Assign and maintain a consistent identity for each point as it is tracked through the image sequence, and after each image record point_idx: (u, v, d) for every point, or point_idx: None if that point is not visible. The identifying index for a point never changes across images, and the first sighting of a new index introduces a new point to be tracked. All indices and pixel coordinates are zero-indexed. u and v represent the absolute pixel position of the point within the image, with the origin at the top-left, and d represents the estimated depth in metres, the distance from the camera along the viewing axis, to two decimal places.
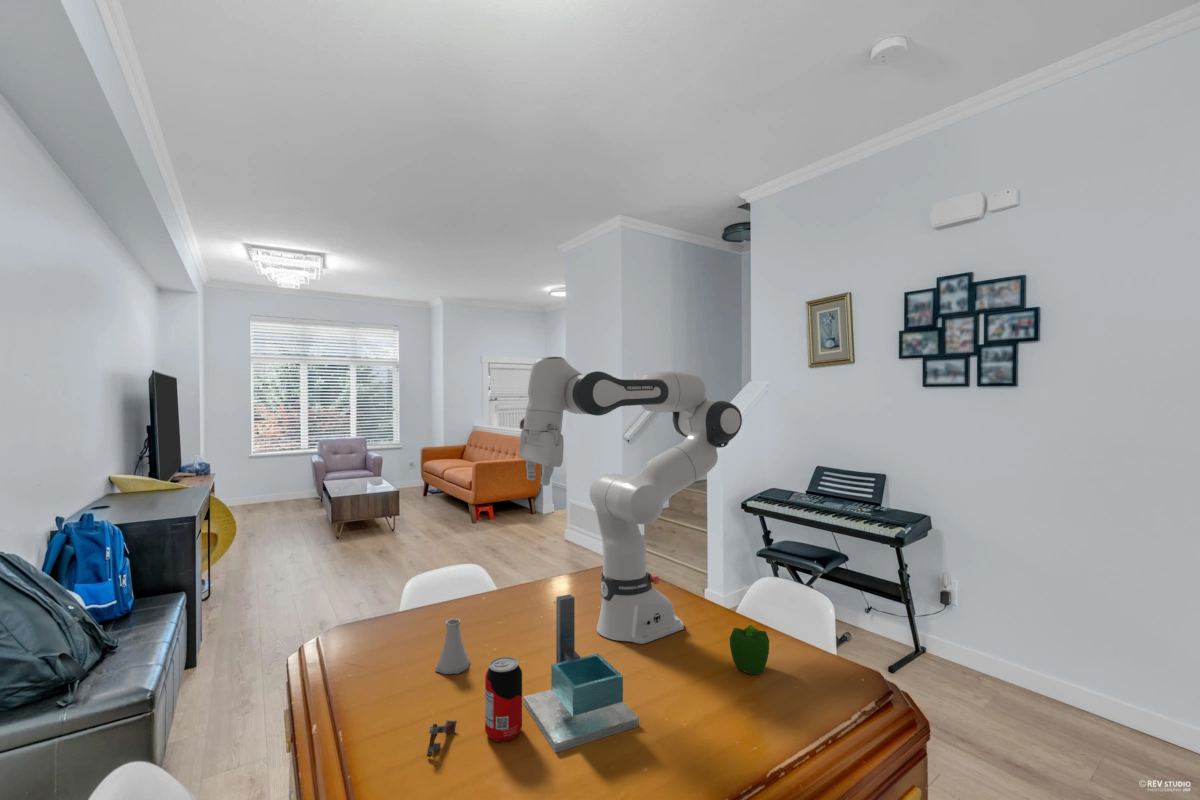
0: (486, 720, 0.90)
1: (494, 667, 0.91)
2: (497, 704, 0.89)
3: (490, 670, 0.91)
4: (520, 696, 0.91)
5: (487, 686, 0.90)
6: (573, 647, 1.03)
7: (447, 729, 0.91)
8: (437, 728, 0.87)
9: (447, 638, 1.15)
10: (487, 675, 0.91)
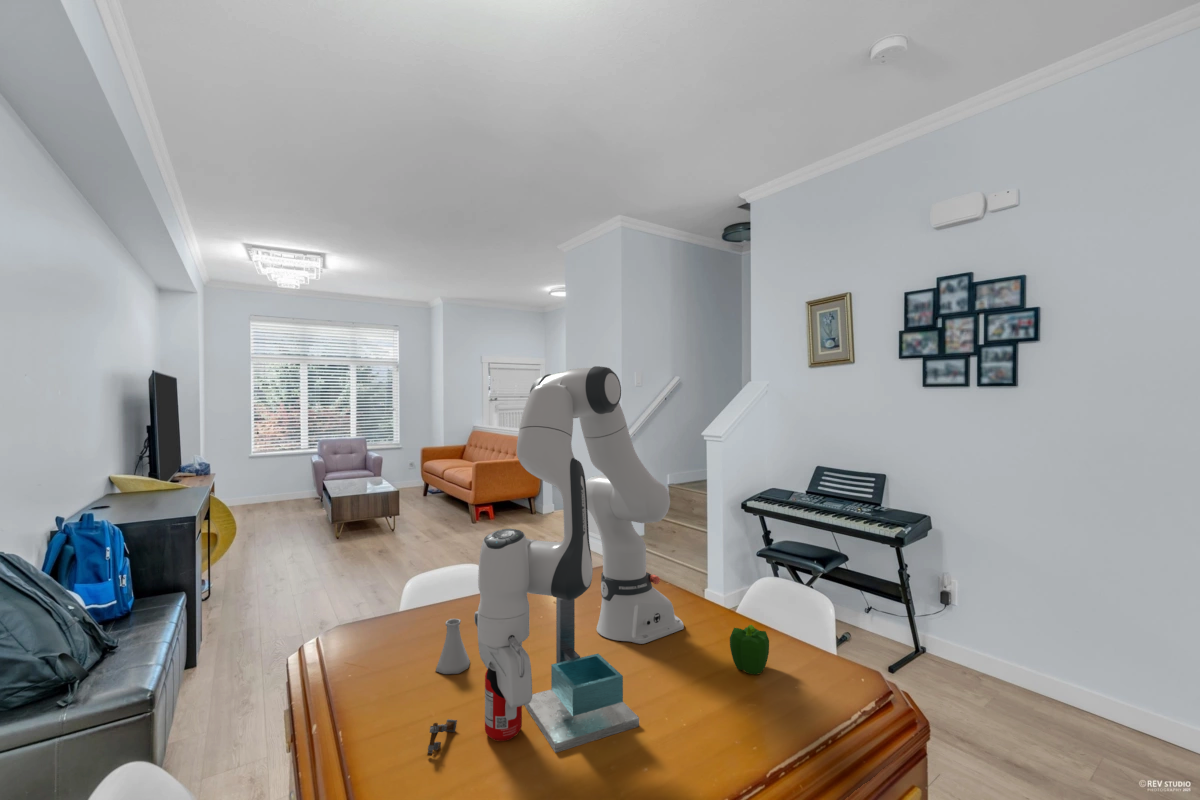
0: (486, 720, 0.91)
1: None
2: (497, 703, 0.89)
3: (490, 670, 0.91)
4: None
5: (487, 686, 0.90)
6: (573, 647, 1.03)
7: (447, 728, 0.91)
8: (437, 727, 0.88)
9: (447, 638, 1.15)
10: (487, 675, 0.91)
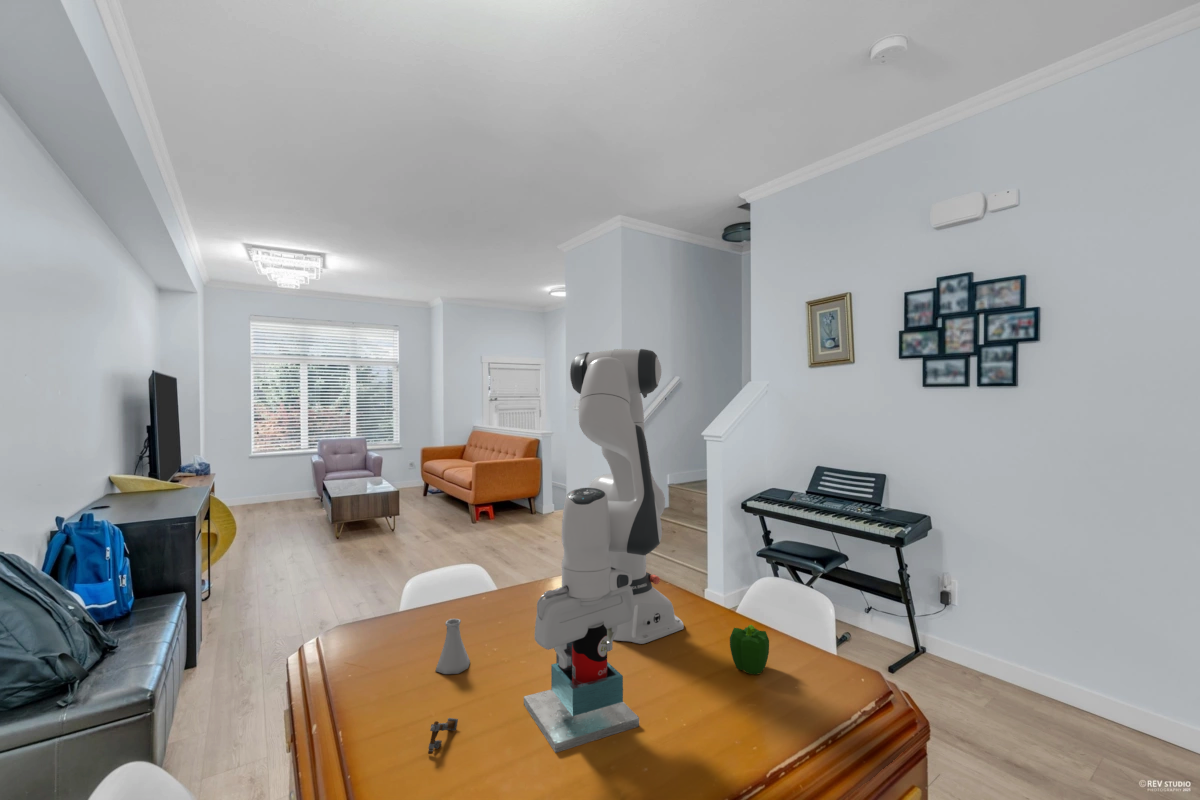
0: None
1: None
2: (572, 650, 0.95)
3: None
4: (588, 658, 0.92)
5: None
6: None
7: (448, 727, 0.91)
8: (438, 726, 0.88)
9: (447, 638, 1.15)
10: None
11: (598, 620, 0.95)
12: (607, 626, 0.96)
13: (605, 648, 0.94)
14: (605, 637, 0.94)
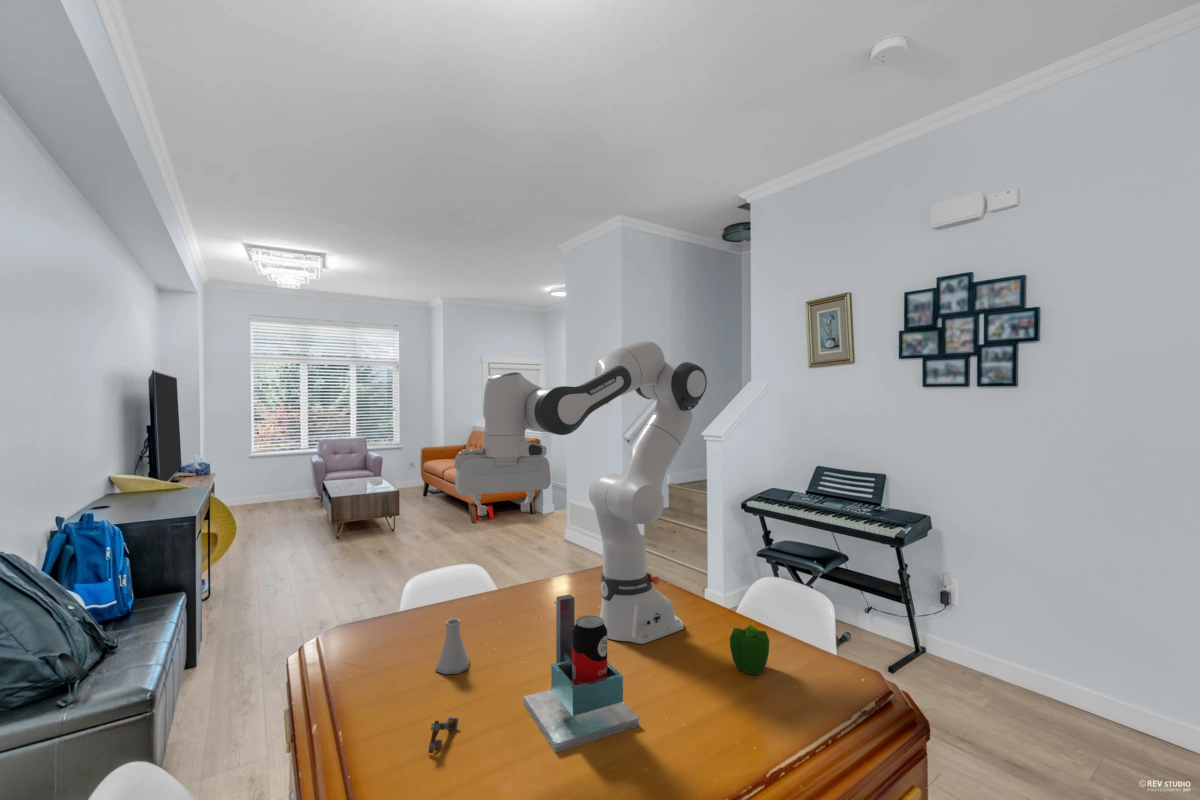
0: None
1: (582, 619, 0.97)
2: (572, 650, 0.95)
3: None
4: (588, 658, 0.93)
5: None
6: None
7: (449, 726, 0.92)
8: (439, 725, 0.88)
9: (447, 638, 1.15)
10: None
11: (512, 481, 1.12)
12: (521, 487, 1.13)
13: (605, 648, 0.94)
14: (605, 637, 0.94)
